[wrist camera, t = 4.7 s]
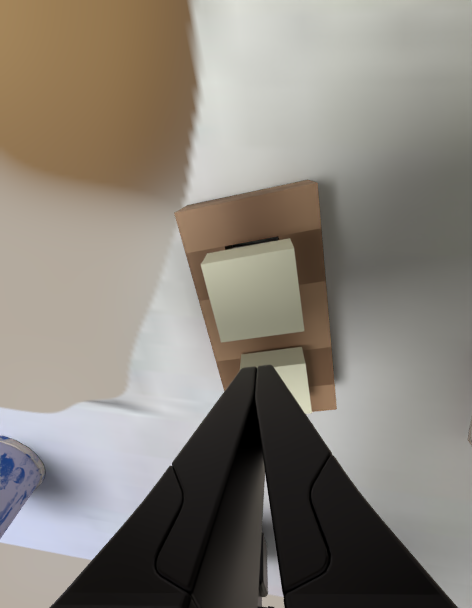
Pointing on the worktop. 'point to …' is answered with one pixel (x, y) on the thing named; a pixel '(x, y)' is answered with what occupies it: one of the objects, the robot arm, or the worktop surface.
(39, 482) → the aerosol can
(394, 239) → the worktop surface
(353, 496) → the robot arm
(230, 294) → the plunger
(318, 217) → the bar
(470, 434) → the food container
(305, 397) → the plunger
